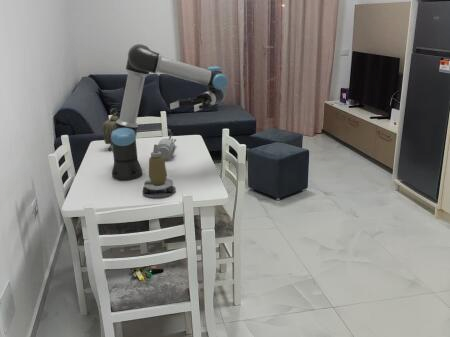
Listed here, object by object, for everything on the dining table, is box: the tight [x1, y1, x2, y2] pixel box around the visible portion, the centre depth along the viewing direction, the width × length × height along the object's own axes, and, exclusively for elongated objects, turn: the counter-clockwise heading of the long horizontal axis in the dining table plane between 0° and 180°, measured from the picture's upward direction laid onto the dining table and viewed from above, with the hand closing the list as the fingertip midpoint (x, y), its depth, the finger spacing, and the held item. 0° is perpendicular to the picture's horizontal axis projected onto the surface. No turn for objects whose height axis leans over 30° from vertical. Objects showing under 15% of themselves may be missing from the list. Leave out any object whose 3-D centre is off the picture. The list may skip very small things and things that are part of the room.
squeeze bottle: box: [148, 144, 168, 185], centre depth 194 cm, size 8×8×18 cm
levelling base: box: [142, 177, 176, 200], centre depth 197 cm, size 15×15×4 cm
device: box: [156, 134, 177, 162], centre depth 253 cm, size 31×10×10 cm, turn 178°
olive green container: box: [102, 107, 120, 151], centre depth 263 cm, size 14×9×25 cm, turn 162°
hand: (182, 107), depth 205 cm, fingers open, 13 cm apart
